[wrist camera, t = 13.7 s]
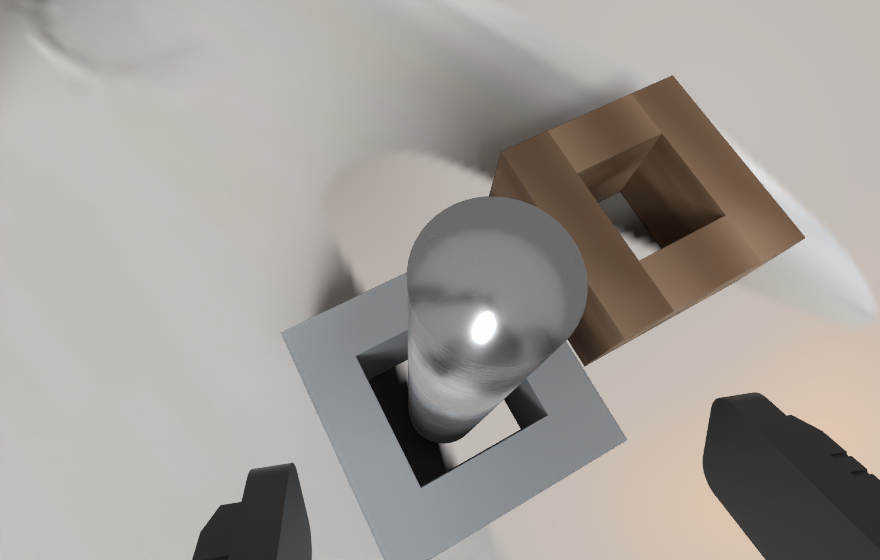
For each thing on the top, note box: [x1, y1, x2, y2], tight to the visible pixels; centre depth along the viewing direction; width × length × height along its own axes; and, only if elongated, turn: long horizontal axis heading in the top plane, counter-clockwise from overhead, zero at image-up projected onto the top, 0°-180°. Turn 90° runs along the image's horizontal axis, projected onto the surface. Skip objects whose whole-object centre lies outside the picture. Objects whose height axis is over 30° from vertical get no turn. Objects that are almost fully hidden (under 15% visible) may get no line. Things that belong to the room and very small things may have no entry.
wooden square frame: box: [489, 76, 805, 366], centre depth 25 cm, size 9×9×5 cm
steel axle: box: [407, 197, 588, 443], centre depth 17 cm, size 3×3×16 cm
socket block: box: [281, 273, 627, 560], centre depth 22 cm, size 9×9×5 cm
